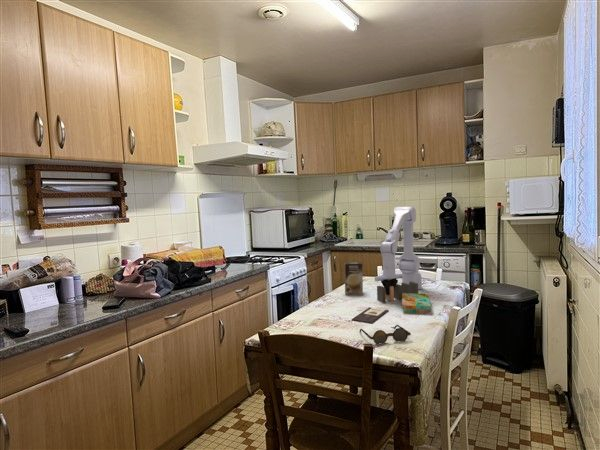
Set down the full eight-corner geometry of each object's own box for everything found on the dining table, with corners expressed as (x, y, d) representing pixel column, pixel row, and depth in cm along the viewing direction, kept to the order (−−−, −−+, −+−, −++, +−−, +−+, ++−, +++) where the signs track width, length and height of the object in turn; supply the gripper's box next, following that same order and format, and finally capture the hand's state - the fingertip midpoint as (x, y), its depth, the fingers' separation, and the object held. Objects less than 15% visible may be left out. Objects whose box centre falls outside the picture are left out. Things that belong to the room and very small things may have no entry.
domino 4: (404, 296, 192) (404, 282, 192) (410, 298, 188) (410, 284, 187) (401, 296, 192) (401, 282, 191) (407, 299, 187) (407, 284, 187)
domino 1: (380, 299, 188) (379, 285, 188) (385, 302, 183) (385, 287, 183) (377, 300, 188) (376, 285, 187) (382, 302, 183) (382, 288, 182)
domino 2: (388, 298, 190) (387, 284, 189) (393, 301, 185) (393, 286, 184) (385, 298, 189) (385, 284, 189) (390, 301, 184) (390, 286, 184)
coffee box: (345, 295, 199) (344, 263, 198) (344, 291, 206) (344, 261, 204) (363, 294, 198) (362, 263, 197) (362, 291, 205) (361, 261, 203)
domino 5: (412, 295, 194) (411, 281, 193) (418, 297, 189) (418, 283, 188) (409, 295, 193) (409, 281, 193) (415, 298, 189) (415, 283, 188)
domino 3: (396, 297, 191) (396, 283, 190) (402, 299, 186) (401, 285, 186) (393, 297, 190) (393, 283, 190) (399, 300, 186) (399, 285, 185)
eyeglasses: (371, 346, 133) (370, 332, 133) (357, 331, 148) (356, 318, 148) (411, 341, 136) (410, 327, 136) (393, 327, 150) (393, 315, 150)
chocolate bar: (351, 319, 160) (369, 307, 175) (351, 321, 160) (369, 309, 175) (372, 322, 155) (388, 310, 170) (372, 324, 155) (388, 312, 170)
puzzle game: (401, 303, 166) (402, 291, 185) (402, 314, 166) (402, 300, 186) (430, 304, 163) (428, 291, 182) (431, 315, 163) (428, 301, 182)
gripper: (379, 269, 180) (380, 298, 181) (406, 266, 184) (407, 294, 185) (372, 266, 186) (372, 294, 187) (398, 264, 191) (399, 291, 192)
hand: (389, 294), depth 187 cm, fingers closed on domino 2, 2 cm apart
